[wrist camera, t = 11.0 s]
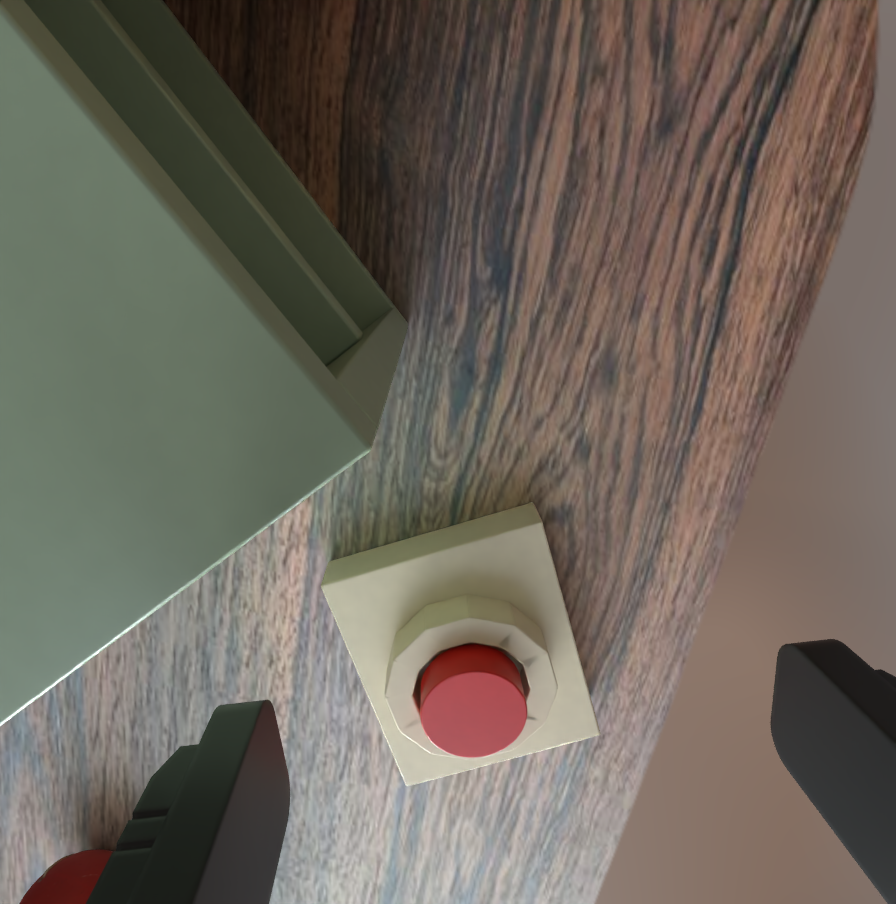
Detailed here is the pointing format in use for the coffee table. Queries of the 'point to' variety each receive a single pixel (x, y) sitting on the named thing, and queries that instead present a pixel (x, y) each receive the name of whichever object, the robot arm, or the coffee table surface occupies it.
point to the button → (472, 701)
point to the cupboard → (155, 331)
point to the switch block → (461, 631)
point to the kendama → (69, 879)
